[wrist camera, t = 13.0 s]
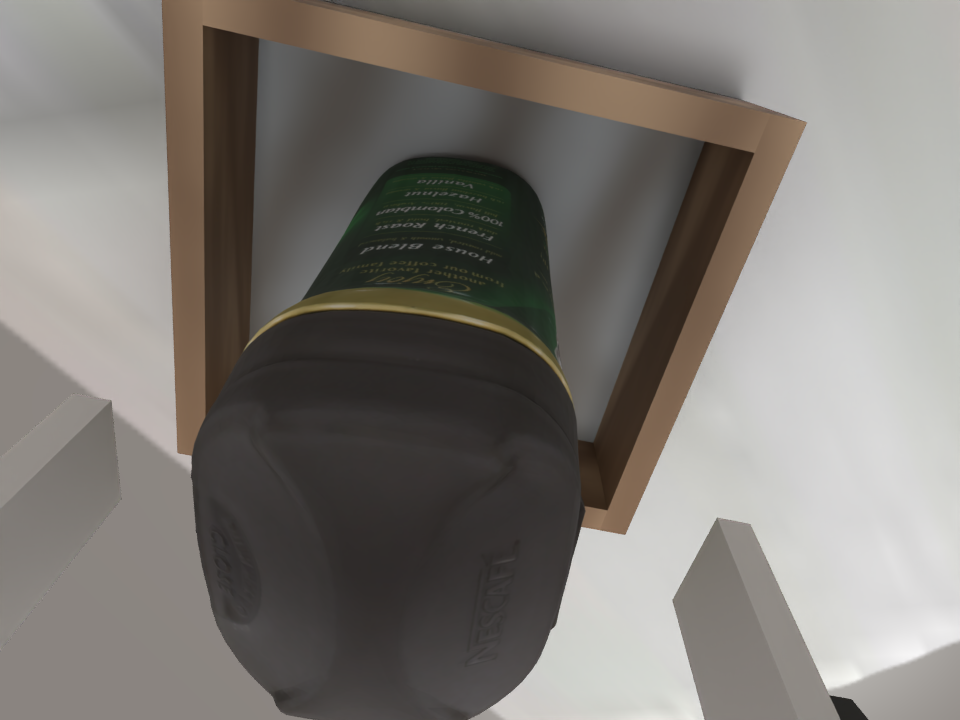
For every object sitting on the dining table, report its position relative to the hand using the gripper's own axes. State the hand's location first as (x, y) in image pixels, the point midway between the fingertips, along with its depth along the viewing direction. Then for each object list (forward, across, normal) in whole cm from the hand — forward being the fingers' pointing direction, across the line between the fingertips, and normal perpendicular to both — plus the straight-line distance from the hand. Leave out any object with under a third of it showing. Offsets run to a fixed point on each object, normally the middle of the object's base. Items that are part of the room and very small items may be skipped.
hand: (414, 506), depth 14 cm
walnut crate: (+17, 0, 0) cm, 17 cm away
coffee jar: (+16, 0, 0) cm, 16 cm away
